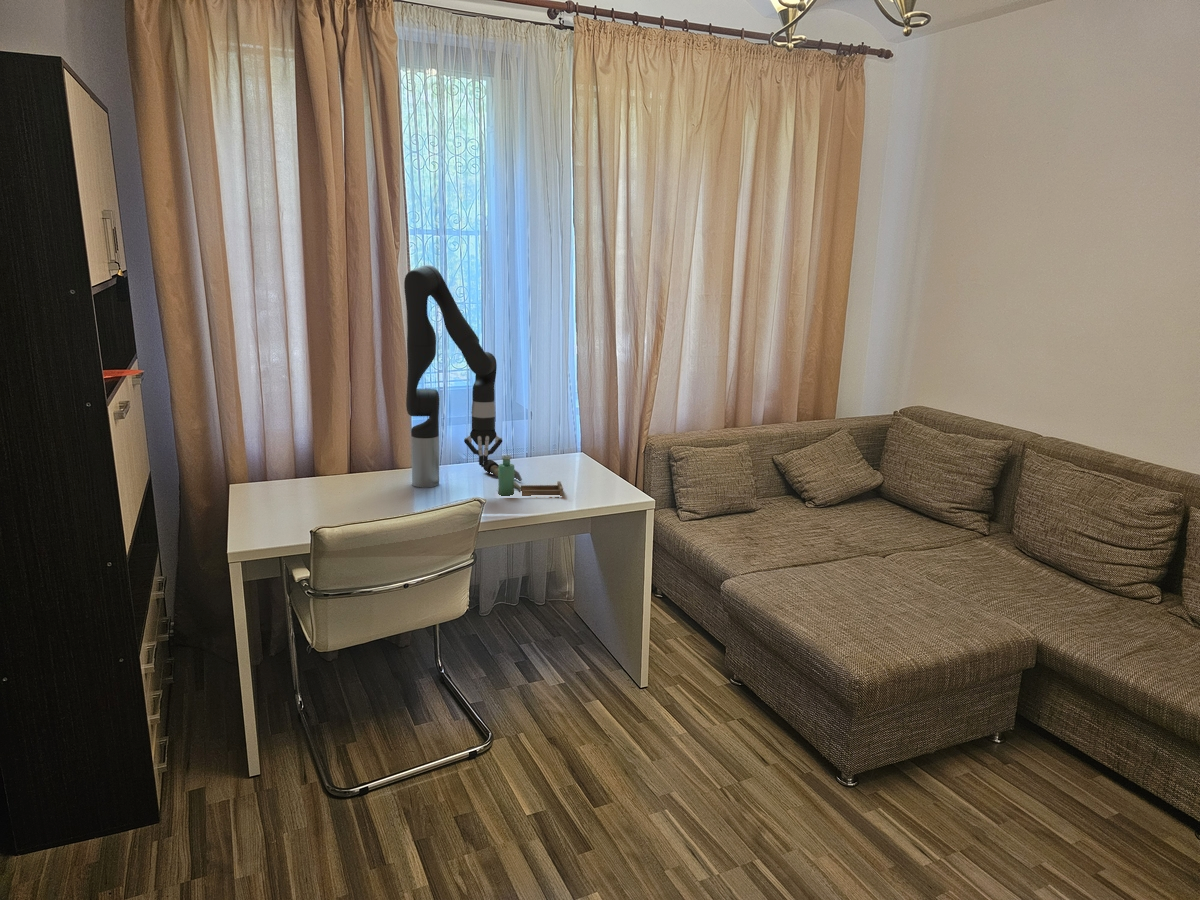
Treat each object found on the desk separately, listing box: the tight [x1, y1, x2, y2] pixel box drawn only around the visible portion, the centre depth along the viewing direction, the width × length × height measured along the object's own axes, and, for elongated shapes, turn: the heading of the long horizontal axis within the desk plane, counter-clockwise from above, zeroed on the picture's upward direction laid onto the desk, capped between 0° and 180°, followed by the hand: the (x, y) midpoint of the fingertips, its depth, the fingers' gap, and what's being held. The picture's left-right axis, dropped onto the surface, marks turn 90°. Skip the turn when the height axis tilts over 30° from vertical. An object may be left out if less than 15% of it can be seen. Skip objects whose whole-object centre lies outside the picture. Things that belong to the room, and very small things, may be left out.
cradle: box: [520, 481, 564, 497], centre depth 273 cm, size 9×22×4 cm, turn 99°
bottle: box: [497, 455, 515, 496], centre depth 271 cm, size 5×5×13 cm
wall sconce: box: [482, 459, 523, 490], centre depth 289 cm, size 5×6×30 cm
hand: (483, 466), depth 269 cm, fingers closed
